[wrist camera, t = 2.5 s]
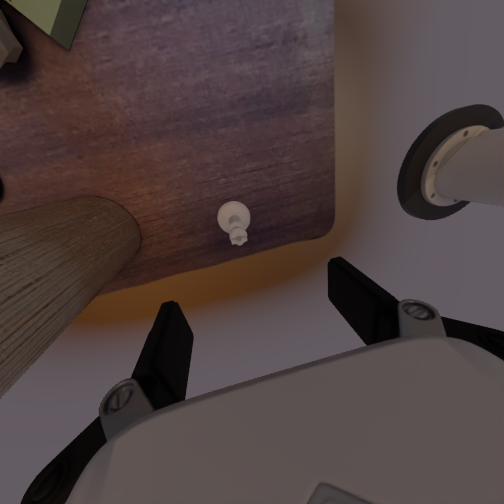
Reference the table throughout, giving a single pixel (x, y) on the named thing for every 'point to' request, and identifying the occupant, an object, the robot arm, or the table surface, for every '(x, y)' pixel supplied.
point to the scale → (53, 16)
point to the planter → (55, 272)
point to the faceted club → (8, 43)
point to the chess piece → (234, 221)
